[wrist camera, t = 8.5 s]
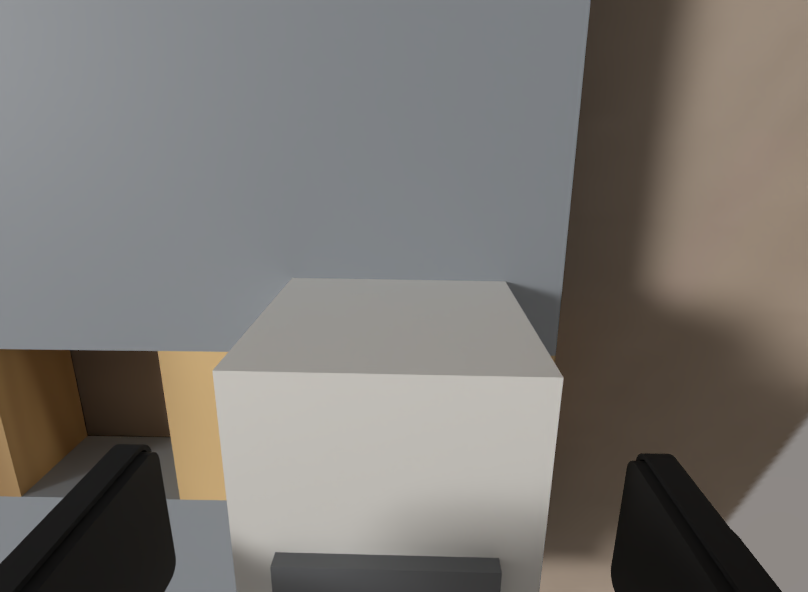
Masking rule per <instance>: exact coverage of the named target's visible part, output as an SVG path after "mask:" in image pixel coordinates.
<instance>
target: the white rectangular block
mask: <svg viewBox="0 0 808 592" xmlns="http://www.w3.org/2000/svg"><path fill="white" fill-rule="evenodd" d="M212 372H213V381H214V390H215V399H216V408H217V418H218V427H219V436H220V445H221V454H222V463H223V472H224V481H225V490H226V500H227V509H228V518H229V527H230V536H231V545H232V554H233V563H234V572H235V582H236V591H237V592H539V589H540V580H541V571H542V562H543V554H544V545H545V536H546V527H547V518H548V510H549V501H550V492H551V483H552V474H553V466H554V457H555V448H556V439H557V431H558V422H559V413H560V404H561V395H562V387H563V376H562V374H561V373H560V371H559V369H558V368H557V366H556V364H555V363H554V361H553V359H552V358H551V356H550V354H549V353H548V351H547V349H546V348H545V346H544V345H543V343H542V341H541V340H540V338H539V336H538V335H537V333H536V331H535V330H534V328H533V326H532V325H531V323H530V321H529V320H528V318H527V316H526V315H525V313H524V311H523V310H522V308H521V307H520V305H519V303H518V302H517V300H516V298H515V297H514V295H513V293H512V292H511V290H510V288H509V287H508V285H507V283H506V282H505V281H452V280H391V279H330V278H292V279H291V280H290V281H289V282H288V283H287V284H286V286H285V287H284V288H283V289H282V290H281V291H280V293H279V294H278V295H277V296H276V297H275V298H274V300H273V301H272V302H271V303H270V304H269V305H268V307H267V308H266V309H265V310H264V311H263V312H262V313H261V315H260V316H259V317H258V318H257V319H256V320H255V322H254V323H253V324H252V325H251V326H250V327H249V329H248V330H247V331H246V332H245V333H244V334H243V336H242V337H241V338H240V339H239V340H238V341H237V343H236V344H235V345H234V346H233V347H232V348H231V350H230V351H229V352H228V353H227V354H226V355H225V357H224V358H223V359H222V360H221V361H220V362H219V364H218V365H217V366H216V367H215V368H214V369H213V371H212Z"/></svg>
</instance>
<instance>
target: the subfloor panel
mask: <svg viewBox="0 0 808 592" xmlns="http://www.w3.org/2000/svg"><path fill="white" fill-rule="evenodd" d="M590 1H591V0H0V563H1V562H2V561H3V560H4V559H5V558H6V557H7V556H8V555H9V554H10V553H11V552H12V551H13V550H14V549H15V548H16V547H17V546H18V545H19V544H20V542H21V541H22V540H23V539H24V538H25V537H26V536H27V535H28V534H29V533H30V532H31V531H32V530H33V529H34V528H35V527H36V526H37V525H38V524H39V523H40V522H41V521H42V520H43V519H44V518H45V517H46V515H47V514H48V513H49V512H50V511H51V510H52V509H53V508H54V507H55V506H56V505H57V504H58V503H59V502H60V501H61V500H62V499H63V498H64V497H65V496H66V495H67V494H68V493H69V492H70V491H71V490H72V489H73V487H74V486H75V485H76V484H77V483H78V482H79V481H80V480H81V479H82V478H83V477H84V476H85V475H86V474H87V473H88V472H89V471H90V470H91V469H92V468H93V467H94V466H95V465H96V464H97V463H98V462H99V461H100V459H101V458H102V457H103V456H104V455H105V454H106V453H107V452H108V451H109V450H110V449H111V448H112V447H113V446H115V445H117V444H146V445H148V446H149V447H150V448H151V451H152V452H156V453H157V454H158V455H159V459H160V465H161V471H162V477H163V483H164V489H165V495H166V501H167V507H168V513H169V519H170V525H171V531H172V537H173V543H174V549H175V555H176V566H175V571H174V574H173V577H172V579H171V581H170V583H169V585H168V587H167V588H166V590H165V592H237V591H236V582H235V572H234V563H233V554H232V545H231V536H230V527H229V518H228V509H227V500H226V490H225V481H224V472H223V463H222V454H221V445H220V436H219V427H218V418H217V408H216V399H215V390H214V381H213V372H212V371H213V369H214V368H215V367H216V366H217V365H218V364H219V362H220V361H221V360H222V359H223V358H224V357H225V355H226V354H227V353H228V352H229V351H230V350H231V348H232V347H233V346H234V345H235V344H236V343H237V341H238V340H239V339H240V338H241V337H242V336H243V334H244V333H245V332H246V331H247V330H248V329H249V327H250V326H251V325H252V324H253V323H254V322H255V320H256V319H257V318H258V317H259V316H260V315H261V313H262V312H263V311H264V310H265V309H266V308H267V307H268V305H269V304H270V303H271V302H272V301H273V300H274V298H275V297H276V296H277V295H278V294H279V293H280V291H281V290H282V289H283V288H284V287H285V286H286V284H287V283H288V282H289V281H290V280H291V279H292V278H330V279H391V280H452V281H505V282H506V283H507V285H508V287H509V288H510V290H511V292H512V293H513V295H514V297H515V298H516V300H517V302H518V303H519V305H520V307H521V308H522V310H523V311H524V313H525V315H526V316H527V318H528V320H529V321H530V323H531V325H532V326H533V328H534V330H535V331H536V333H537V335H538V336H539V338H540V340H541V341H542V343H543V345H544V346H545V348H546V349H547V351H548V353H549V354H550V356H551V358H552V359H553V361H554V363H555V356H556V346H557V336H558V326H559V316H560V305H561V295H562V285H563V275H564V265H565V255H566V245H567V234H568V224H569V214H570V204H571V194H572V184H573V174H574V164H575V153H576V143H577V133H578V123H579V113H580V103H581V93H582V83H583V72H584V62H585V52H586V42H587V32H588V22H589V12H590ZM70 350H118V351H158V357H159V364H160V370H161V377H162V383H163V390H164V397H165V403H166V410H167V417H168V423H169V430H170V436H171V437H123V436H87V431H86V426H85V422H84V417H83V412H82V407H81V402H80V397H79V392H78V388H77V383H76V378H75V373H74V368H73V363H72V359H71V354H70Z"/></svg>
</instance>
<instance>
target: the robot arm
mask: <svg viewBox="0 0 808 592" xmlns="http://www.w3.org/2000/svg"><path fill="white" fill-rule="evenodd" d="M175 566H176V555H175V549H174V543H173V537H172V531H171V525H170V519H169V513H168V507H167V501H166V495H165V489H164V483H163V477H162V471H161V465H160V459H159V455H158V454H157V453H156V452H152V451H151V448H150V447H149V446H148V445H146V444H117V445H115V446H113V447H112V448H111V449H110V450H109V451H108V452H107V453H106V454H105V455H104V456H103V457H102V458H101V459H100V461H99V462H98V463H97V464H96V465H95V466H94V467H93V468H92V469H91V470H90V471H89V472H88V473H87V474H86V475H85V476H84V477H83V478H82V479H81V480H80V481H79V482H78V483H77V484H76V485H75V486H74V487H73V489H72V490H71V491H70V492H69V493H68V494H67V495H66V496H65V497H64V498H63V499H62V500H61V501H60V502H59V503H58V504H57V505H56V506H55V507H54V508H53V509H52V510H51V511H50V512H49V513H48V514H47V515H46V517H45V518H44V519H43V520H42V521H41V522H40V523H39V524H38V525H37V526H36V527H35V528H34V529H33V530H32V531H31V532H30V533H29V534H28V535H27V536H26V537H25V538H24V539H23V540H22V541H21V542H20V544H19V545H18V546H17V547H16V548H15V549H14V550H13V551H12V552H11V553H10V554H9V555H8V556H7V557H6V558H5V559H4V560H3V561H2V562H1V563H0V592H165V590H166V588H167V587H168V585H169V583H170V581H171V579H172V577H173V574H174V571H175ZM611 578H612V584H613V588H614V590H615V592H782V591H781V590H780V589H779V587H778V586H777V585H776V584H775V582H774V581H773V580H772V579H771V577H770V576H769V575H768V573H767V572H766V571H765V570H764V568H763V567H762V566H761V565H760V563H759V562H758V561H757V559H756V558H755V557H754V556H753V554H752V553H751V552H750V551H749V549H748V548H747V547H746V546H745V545H744V543H743V542H742V541H741V539H740V538H739V537H738V536H737V535H736V534H735V533H734V532H733V531H732V530H731V529H730V528H729V526H728V525H727V524H726V522H725V521H724V520H723V519H722V517H721V516H720V515H719V513H718V512H717V511H716V510H715V508H714V507H713V506H712V504H711V503H710V502H709V501H708V499H707V498H706V497H705V496H704V494H703V493H702V492H701V490H700V489H699V488H698V487H697V485H696V484H695V483H694V481H693V480H692V479H691V478H690V476H689V475H688V474H687V472H686V471H685V470H684V469H683V467H682V466H681V465H680V464H679V462H678V461H677V460H676V458H675V457H674V456H672V455H670V454H639V455H638V457H637V458H636V461H630V462H629V463H628V466H627V471H626V477H625V484H624V490H623V496H622V503H621V509H620V515H619V521H618V528H617V534H616V540H615V547H614V553H613V559H612V565H611Z"/></svg>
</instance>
